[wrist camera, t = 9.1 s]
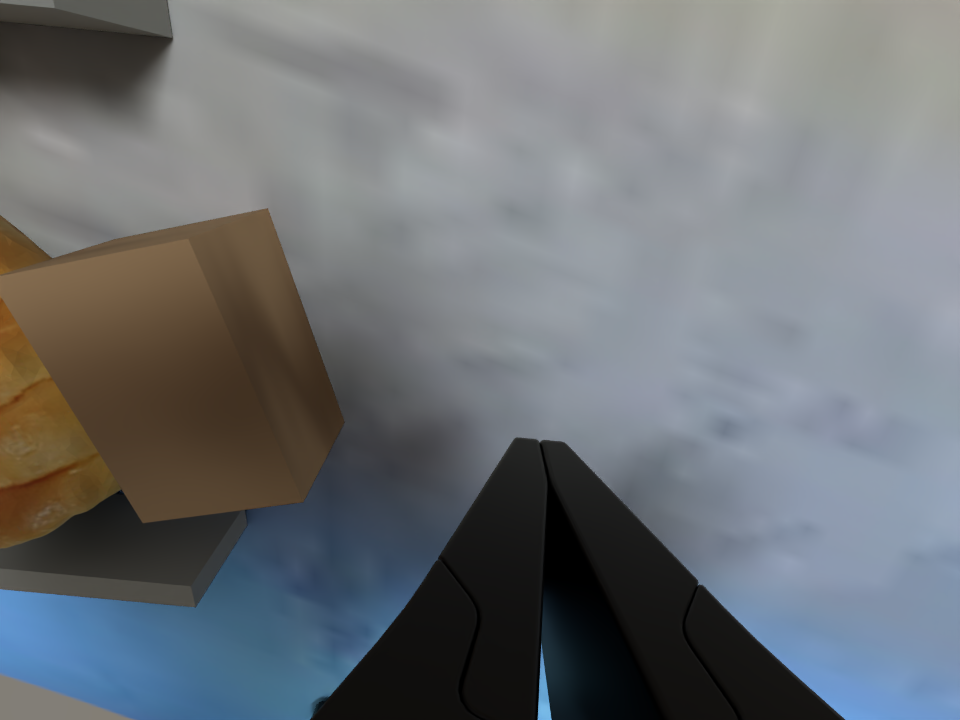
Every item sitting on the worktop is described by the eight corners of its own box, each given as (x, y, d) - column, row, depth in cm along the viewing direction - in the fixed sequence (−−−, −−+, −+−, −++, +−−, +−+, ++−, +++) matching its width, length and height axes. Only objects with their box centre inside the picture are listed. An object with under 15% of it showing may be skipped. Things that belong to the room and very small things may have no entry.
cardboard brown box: (346, 418, 14) (303, 502, 11) (218, 437, 15) (143, 522, 12) (270, 207, 12) (187, 238, 9) (119, 237, 12) (-12, 277, 9)
